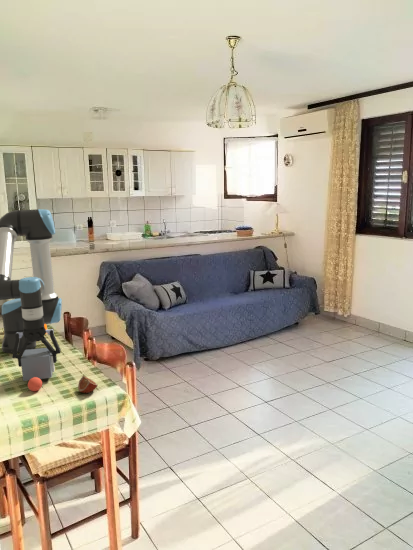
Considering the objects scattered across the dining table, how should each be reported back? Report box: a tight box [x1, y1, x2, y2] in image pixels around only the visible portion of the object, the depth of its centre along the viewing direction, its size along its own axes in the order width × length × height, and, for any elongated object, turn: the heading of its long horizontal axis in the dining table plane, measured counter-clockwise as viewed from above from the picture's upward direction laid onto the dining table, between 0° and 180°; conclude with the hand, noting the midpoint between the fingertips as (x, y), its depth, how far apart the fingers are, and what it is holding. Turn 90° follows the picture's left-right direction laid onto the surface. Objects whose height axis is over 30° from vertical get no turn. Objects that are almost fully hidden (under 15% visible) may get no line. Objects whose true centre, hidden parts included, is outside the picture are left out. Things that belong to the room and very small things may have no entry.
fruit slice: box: [77, 375, 98, 394], centre depth 163 cm, size 8×7×5 cm
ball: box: [27, 377, 43, 392], centre depth 165 cm, size 5×5×5 cm
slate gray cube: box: [21, 347, 54, 382], centre depth 176 cm, size 10×10×9 cm
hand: (38, 372), depth 176 cm, fingers closed on slate gray cube, 10 cm apart
